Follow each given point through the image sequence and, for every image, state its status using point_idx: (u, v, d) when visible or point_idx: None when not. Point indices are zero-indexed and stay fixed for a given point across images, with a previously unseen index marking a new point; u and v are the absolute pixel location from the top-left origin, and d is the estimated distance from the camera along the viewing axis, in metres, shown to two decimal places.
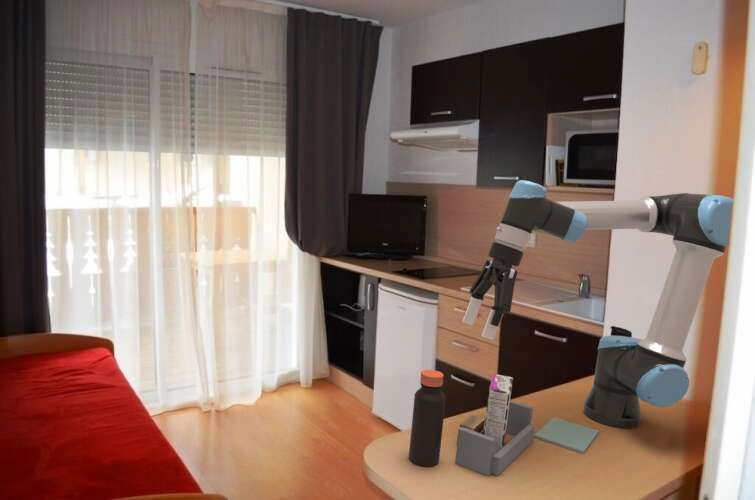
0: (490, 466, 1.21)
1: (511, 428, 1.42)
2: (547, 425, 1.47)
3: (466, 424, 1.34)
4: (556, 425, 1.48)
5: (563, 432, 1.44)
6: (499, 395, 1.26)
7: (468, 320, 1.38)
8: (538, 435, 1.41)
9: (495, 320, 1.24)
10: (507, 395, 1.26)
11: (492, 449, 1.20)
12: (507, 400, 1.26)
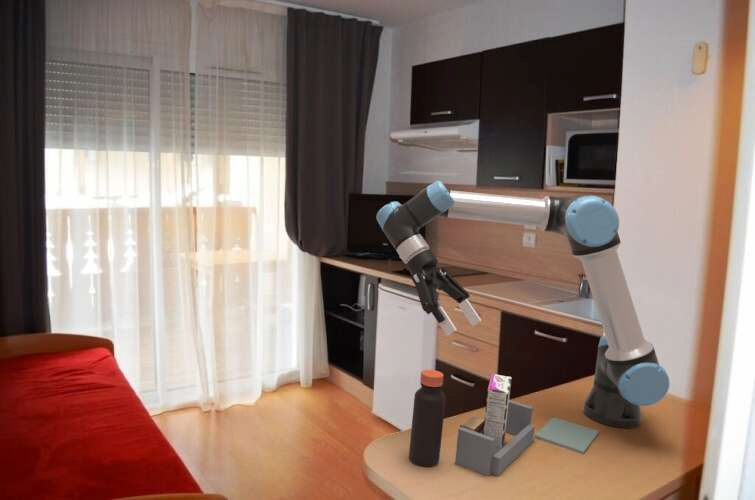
0: (490, 466, 1.21)
1: (511, 428, 1.42)
2: (547, 425, 1.47)
3: (466, 425, 1.33)
4: (556, 425, 1.48)
5: (563, 432, 1.44)
6: (498, 395, 1.26)
7: (473, 321, 1.41)
8: (538, 435, 1.41)
9: (436, 318, 1.30)
10: (506, 395, 1.26)
11: (492, 449, 1.20)
12: (506, 400, 1.26)
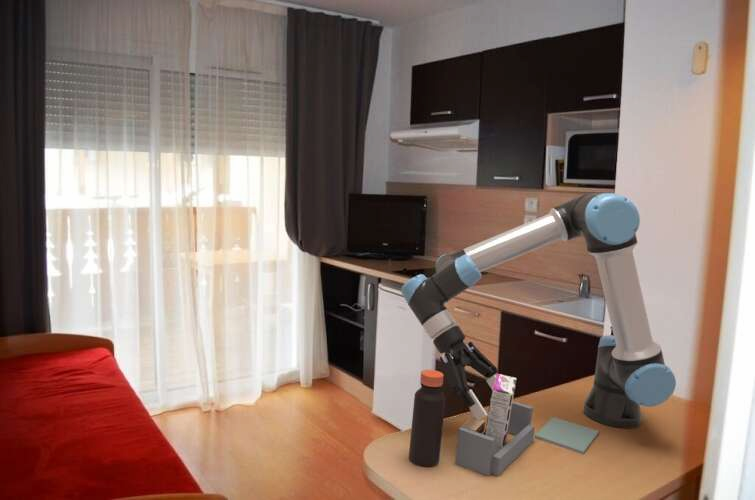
0: (490, 466, 1.21)
1: (511, 428, 1.42)
2: (547, 425, 1.47)
3: (467, 427, 1.33)
4: (556, 425, 1.48)
5: (563, 432, 1.44)
6: (502, 396, 1.26)
7: None
8: (538, 435, 1.41)
9: (466, 402, 1.27)
10: (510, 396, 1.25)
11: (492, 449, 1.20)
12: (510, 401, 1.25)
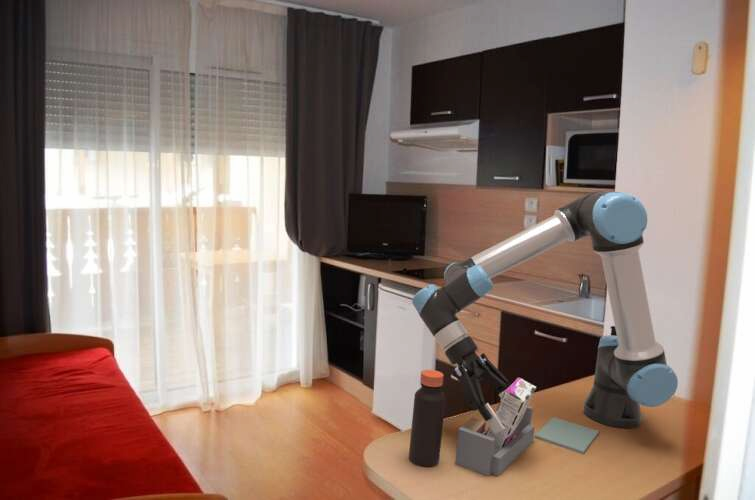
0: (490, 466, 1.21)
1: None
2: (547, 425, 1.47)
3: (467, 427, 1.32)
4: (556, 425, 1.48)
5: (563, 432, 1.44)
6: (513, 400, 1.24)
7: None
8: (538, 435, 1.41)
9: (483, 416, 1.26)
10: (521, 402, 1.23)
11: (492, 449, 1.20)
12: (519, 407, 1.23)
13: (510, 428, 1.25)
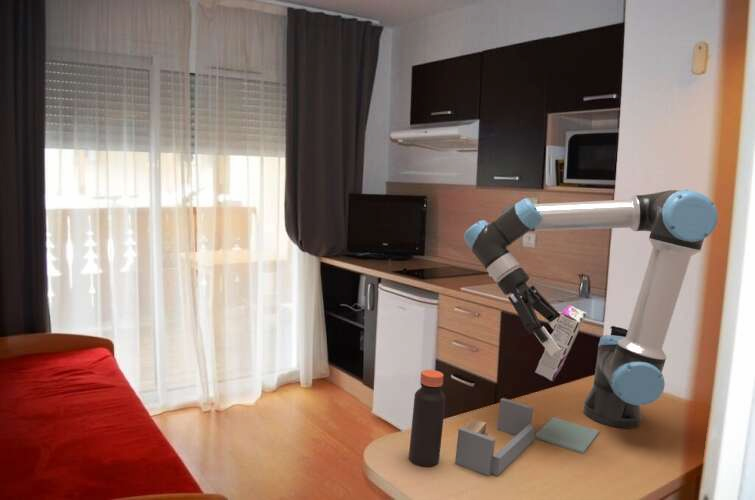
0: (490, 466, 1.21)
1: (511, 428, 1.42)
2: (547, 425, 1.47)
3: None
4: (556, 425, 1.48)
5: (563, 432, 1.44)
6: (569, 321, 1.30)
7: None
8: (538, 435, 1.41)
9: (540, 338, 1.32)
10: (576, 323, 1.29)
11: (492, 449, 1.20)
12: (575, 327, 1.30)
13: (565, 348, 1.31)
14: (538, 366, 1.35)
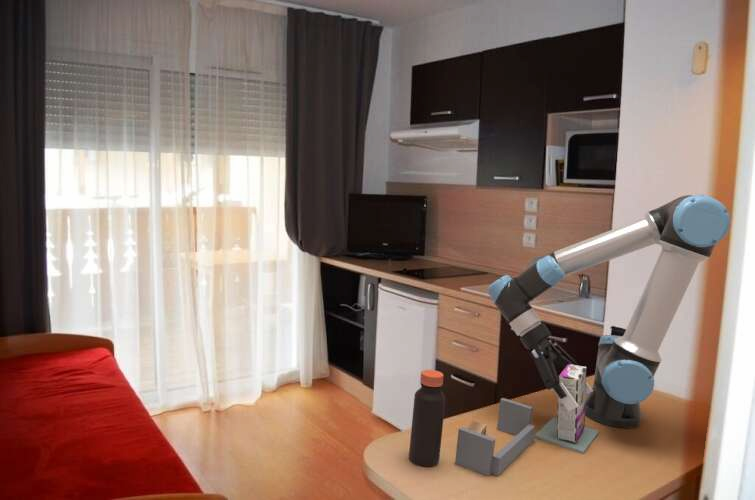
0: (490, 466, 1.21)
1: (511, 428, 1.42)
2: (547, 425, 1.47)
3: None
4: (556, 425, 1.48)
5: None
6: (568, 381, 1.37)
7: None
8: (538, 435, 1.41)
9: (558, 394, 1.36)
10: (575, 381, 1.36)
11: (492, 449, 1.20)
12: (576, 386, 1.36)
13: (575, 408, 1.37)
14: (558, 432, 1.39)
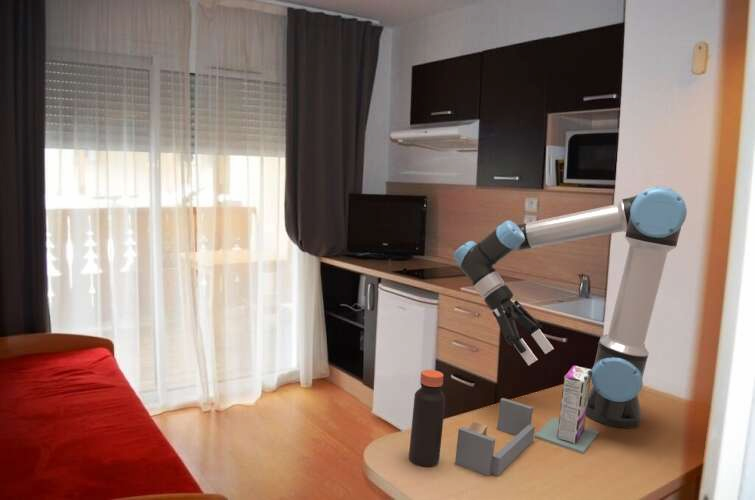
0: (490, 466, 1.21)
1: (511, 428, 1.42)
2: (547, 425, 1.47)
3: None
4: (556, 425, 1.48)
5: None
6: (574, 383, 1.37)
7: (546, 349, 1.55)
8: (538, 435, 1.41)
9: (519, 349, 1.44)
10: (581, 383, 1.36)
11: (492, 449, 1.20)
12: (581, 388, 1.36)
13: (579, 410, 1.36)
14: (559, 432, 1.39)
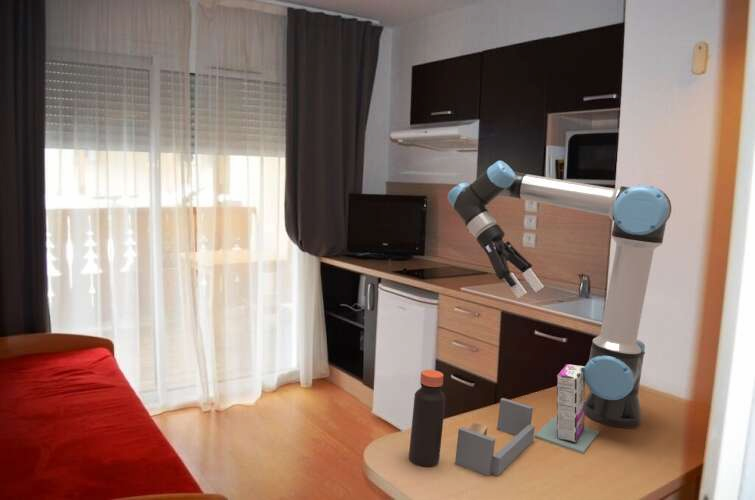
0: (490, 466, 1.21)
1: (511, 428, 1.42)
2: (547, 425, 1.47)
3: None
4: (556, 425, 1.48)
5: None
6: (567, 381, 1.37)
7: (536, 287, 1.59)
8: (538, 435, 1.41)
9: (508, 283, 1.48)
10: (574, 380, 1.36)
11: (492, 449, 1.20)
12: (575, 385, 1.36)
13: (575, 407, 1.37)
14: (558, 432, 1.40)
